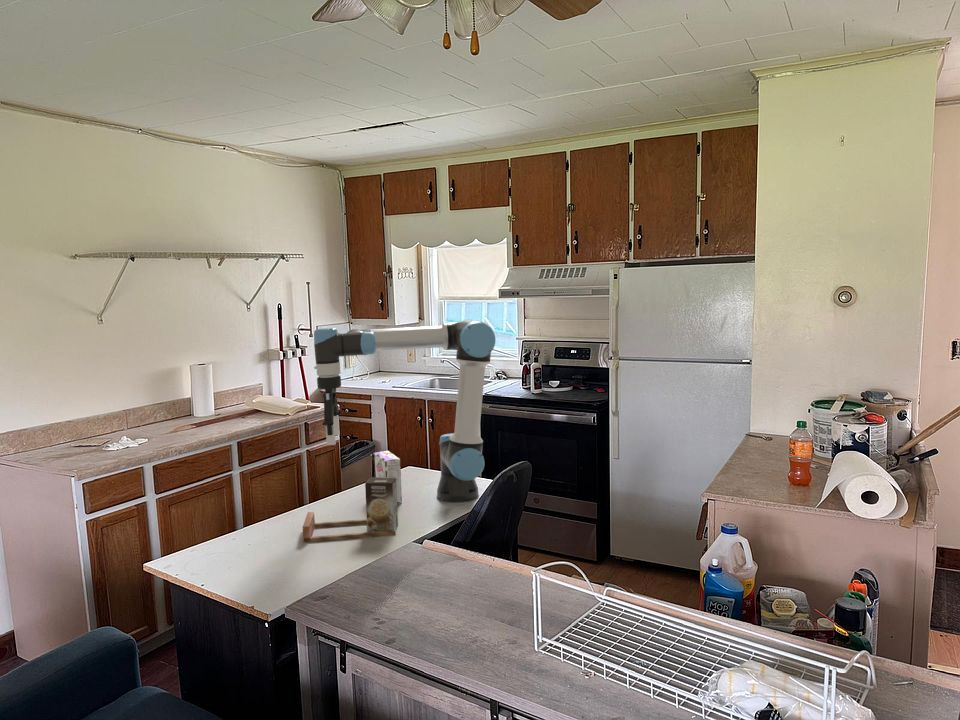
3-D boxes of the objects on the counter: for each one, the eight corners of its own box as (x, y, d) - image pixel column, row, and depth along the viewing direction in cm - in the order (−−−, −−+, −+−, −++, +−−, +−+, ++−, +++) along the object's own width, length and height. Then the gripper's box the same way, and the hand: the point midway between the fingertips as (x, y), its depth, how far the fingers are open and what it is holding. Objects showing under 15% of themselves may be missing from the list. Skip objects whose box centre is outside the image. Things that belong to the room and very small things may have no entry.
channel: (395, 520, 223) (394, 505, 222) (395, 535, 210) (394, 519, 209) (308, 527, 219) (307, 512, 219) (303, 542, 206) (302, 526, 206)
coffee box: (366, 532, 213) (363, 482, 211) (371, 524, 220) (368, 477, 218) (394, 532, 212) (392, 482, 210) (399, 525, 219) (396, 476, 217)
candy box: (375, 495, 251) (373, 452, 249) (391, 492, 253) (388, 449, 251) (386, 505, 238) (384, 460, 236) (402, 503, 241) (400, 458, 239)
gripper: (321, 371, 230) (326, 432, 233) (311, 382, 206) (316, 449, 208) (343, 370, 231) (348, 430, 233) (336, 380, 206) (341, 448, 209)
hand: (333, 439), depth 221 cm, fingers open, 13 cm apart
